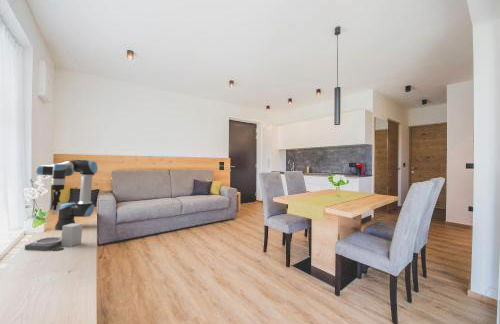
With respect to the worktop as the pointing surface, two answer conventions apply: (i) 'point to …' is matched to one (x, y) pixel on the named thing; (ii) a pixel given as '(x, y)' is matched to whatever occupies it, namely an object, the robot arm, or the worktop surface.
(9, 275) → the worktop surface
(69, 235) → the supplement box
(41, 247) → the kitchen scale
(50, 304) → the worktop surface
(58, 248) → the lens cap
